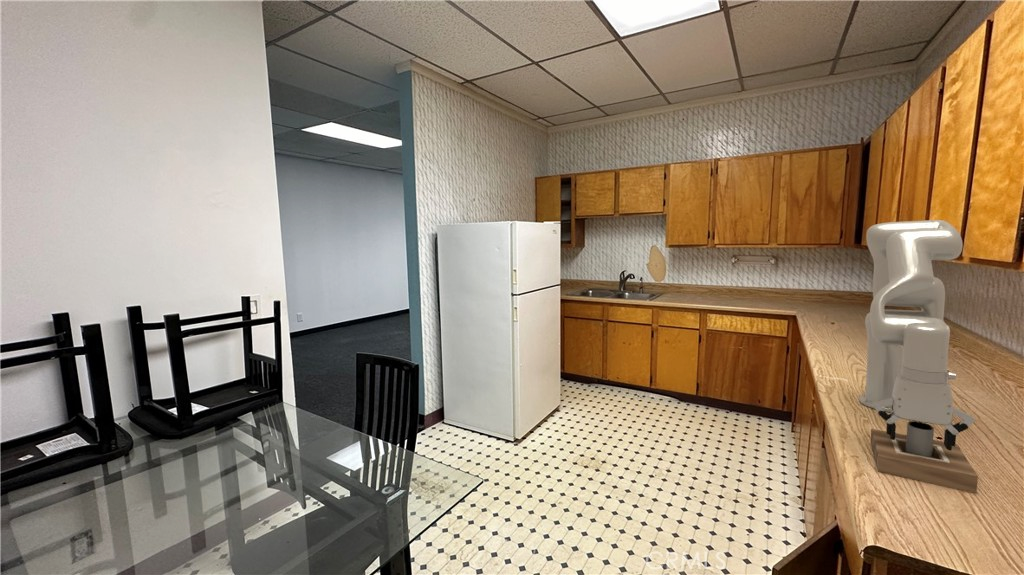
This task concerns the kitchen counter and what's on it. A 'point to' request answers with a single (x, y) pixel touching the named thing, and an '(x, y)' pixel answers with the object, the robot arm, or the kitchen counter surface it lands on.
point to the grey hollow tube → (919, 439)
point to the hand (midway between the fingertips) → (919, 442)
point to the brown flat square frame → (923, 462)
